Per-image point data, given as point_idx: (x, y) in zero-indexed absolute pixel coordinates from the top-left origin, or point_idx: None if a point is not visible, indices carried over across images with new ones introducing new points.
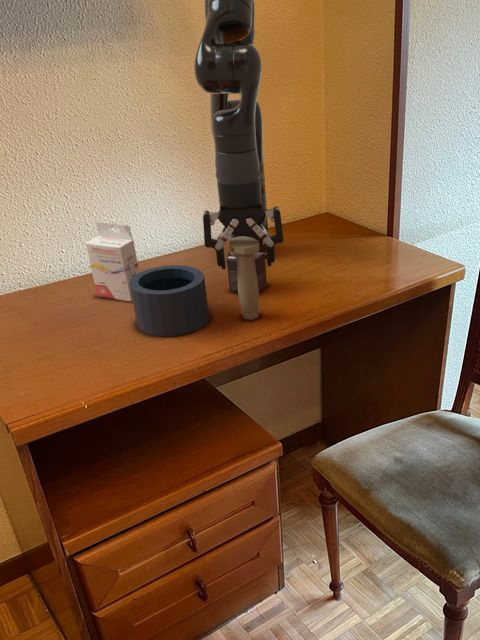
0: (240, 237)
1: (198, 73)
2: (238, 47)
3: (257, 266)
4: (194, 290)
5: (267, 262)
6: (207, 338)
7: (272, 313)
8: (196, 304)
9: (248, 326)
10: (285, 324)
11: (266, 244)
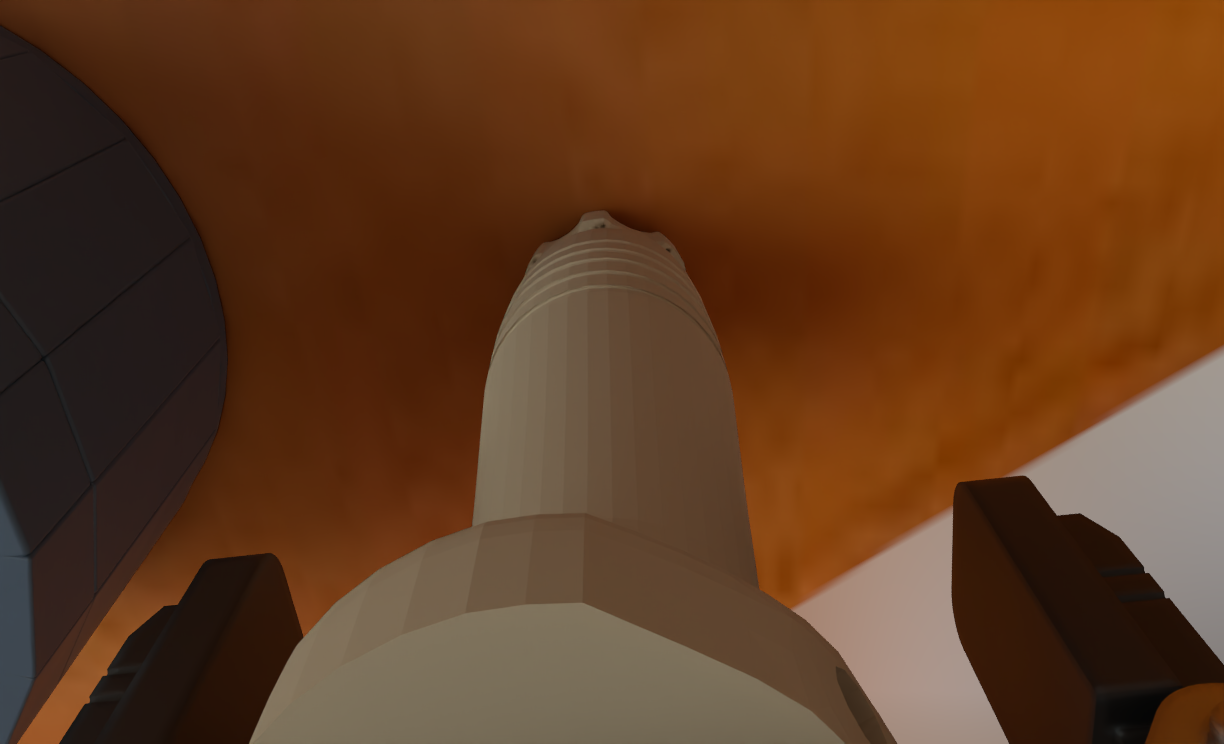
0: (484, 665)
1: None
2: None
3: None
4: (26, 718)
5: (970, 625)
6: (310, 615)
7: (811, 209)
8: (103, 609)
9: None
10: (918, 424)
11: (1101, 736)
